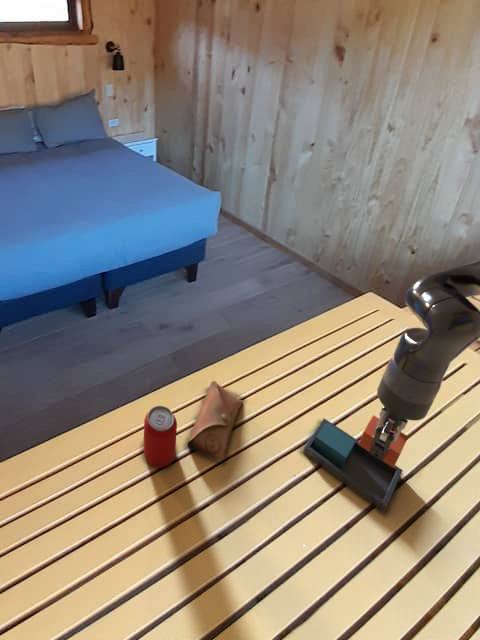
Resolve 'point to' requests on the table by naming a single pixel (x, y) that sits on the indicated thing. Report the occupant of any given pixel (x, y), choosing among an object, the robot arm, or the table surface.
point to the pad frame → (360, 471)
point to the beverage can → (160, 436)
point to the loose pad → (395, 445)
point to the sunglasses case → (215, 422)
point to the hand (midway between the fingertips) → (381, 445)
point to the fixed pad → (334, 445)
